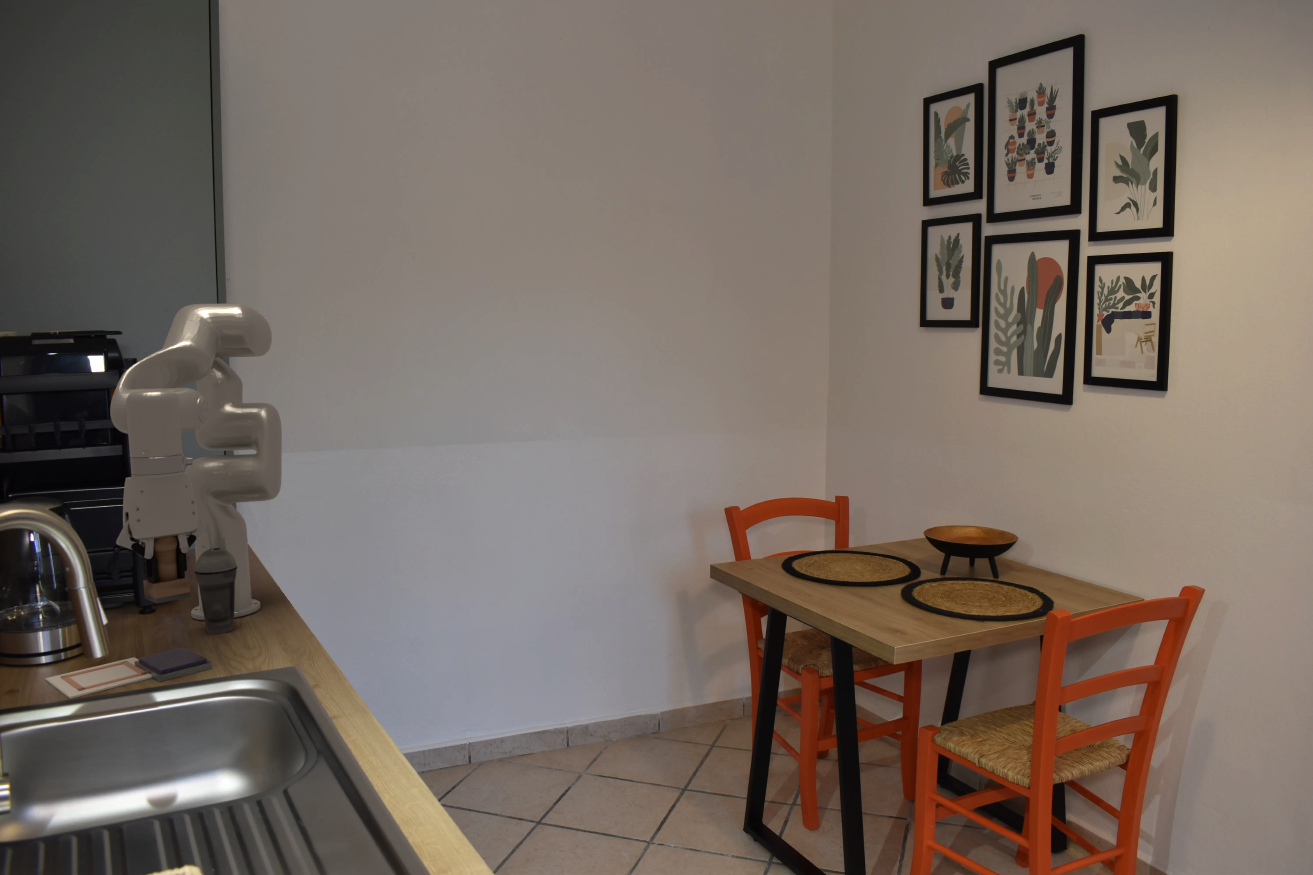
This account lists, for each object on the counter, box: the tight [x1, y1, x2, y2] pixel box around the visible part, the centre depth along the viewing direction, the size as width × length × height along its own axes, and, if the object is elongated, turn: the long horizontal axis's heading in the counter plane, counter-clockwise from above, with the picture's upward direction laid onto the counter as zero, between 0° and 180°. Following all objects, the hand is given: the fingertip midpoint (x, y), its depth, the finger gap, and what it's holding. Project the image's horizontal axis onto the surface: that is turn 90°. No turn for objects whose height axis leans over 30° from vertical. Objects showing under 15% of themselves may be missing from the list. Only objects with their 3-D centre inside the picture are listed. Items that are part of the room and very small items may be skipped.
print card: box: [44, 657, 154, 699], centre depth 147 cm, size 13×13×1 cm
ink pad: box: [135, 646, 213, 683], centre depth 151 cm, size 11×8×2 cm
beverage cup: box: [194, 525, 237, 635], centre depth 171 cm, size 7×7×20 cm
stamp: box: [142, 536, 192, 604], centre depth 149 cm, size 5×5×11 cm
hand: (166, 577), depth 149 cm, fingers closed on stamp, 3 cm apart
